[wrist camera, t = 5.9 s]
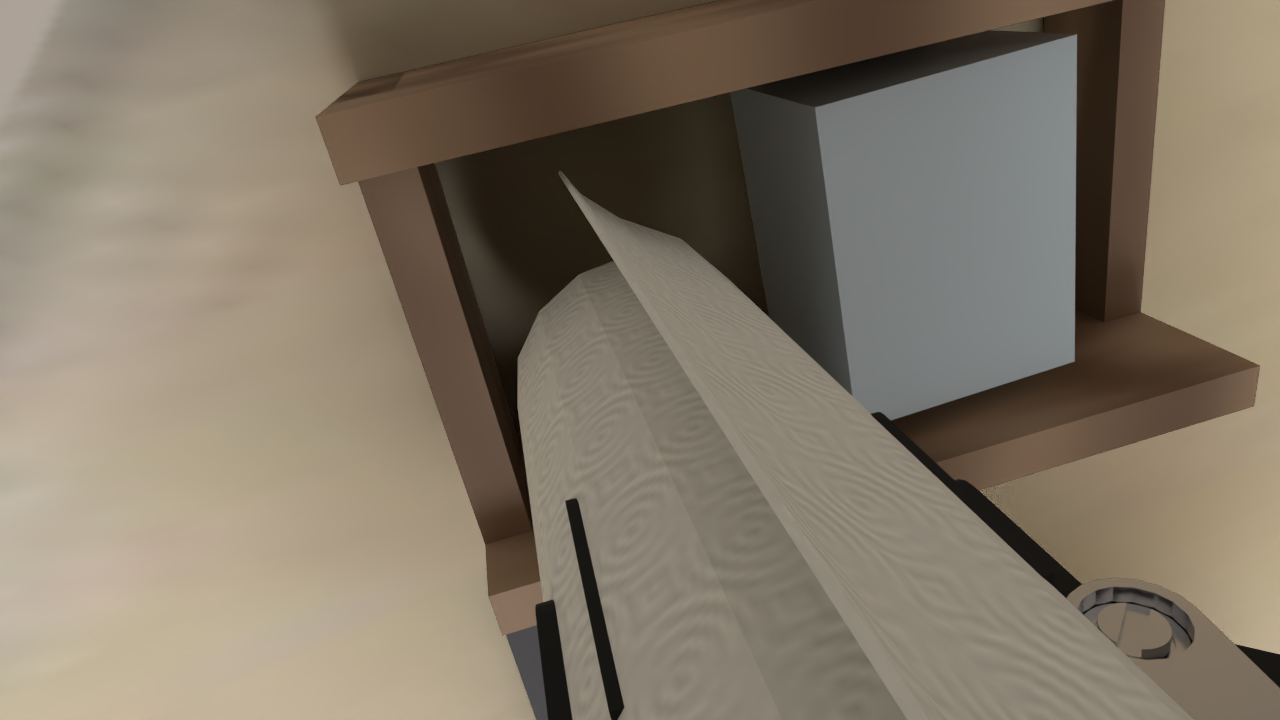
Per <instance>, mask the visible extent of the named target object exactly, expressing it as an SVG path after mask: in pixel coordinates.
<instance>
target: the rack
mask: <svg viewBox="0 0 1280 720" xmlns="http://www.w3.org/2000/svg"><path fill="white" fill-rule="evenodd" d="M1164 7H1165V0H719V1H714V2H710V3H706V4H701V5H697V6H692V7H688V8H683V9H679V10H675V11H670V12H666V13H661V14H657V15H653V16H648V17H644V18H639V19H635V20H630V21H626V22H622V23H617V24H613V25H608V26H604V27H600V28H595V29H591V30H586V31H582V32H577V33H573V34H569V35H564V36H560V37H555V38H551V39H547V40H542V41H538V42H533V43H529V44H524V45H520V46H516V47H511V48H507V49H502V50H498V51H493V52H489V53H485V54H480V55H476V56H471V57H467V58H463V59H458V60H454V61H449V62H445V63H440V64H436V65H432V66H427V67H423V68H418V69H414V70H410V71H405V72H401V73H396V74H392V75H387V76H383V77H379V78H374V79H370V80H365V81H361V82H358V83H357V84H355V85H354V86H353V87H352V88H350V89H349V90H348V91H347V92H345V93H344V94H343V95H342V96H341V97H339V98H338V99H337V100H336V101H334V102H333V103H332V104H331V105H329V106H328V107H327V108H326V109H325V110H323V111H322V112H321V113H320V114H318V115H317V116H316V120H317V123H318V125H319V128H320V131H321V134H322V136H323V139H324V142H325V145H326V147H327V150H328V153H329V156H330V159H331V161H332V164H333V167H334V170H335V172H336V175H337V178H338V181H339V184H340V185H344V184H349V183H353V182H357V181H358V182H359V185H360V188H361V191H362V194H363V196H364V199H365V202H366V205H367V208H368V211H369V214H370V216H371V219H372V222H373V225H374V228H375V231H376V234H377V236H378V239H379V242H380V245H381V248H382V251H383V254H384V256H385V259H386V262H387V265H388V268H389V271H390V273H391V276H392V279H393V282H394V285H395V288H396V291H397V293H398V296H399V299H400V302H401V305H402V308H403V311H404V313H405V316H406V319H407V322H408V325H409V328H410V331H411V333H412V336H413V339H414V342H415V345H416V348H417V351H418V353H419V356H420V359H421V362H422V365H423V368H424V371H425V373H426V376H427V379H428V382H429V385H430V388H431V391H432V393H433V396H434V399H435V402H436V405H437V408H438V411H439V413H440V416H441V419H442V422H443V425H444V428H445V431H446V433H447V436H448V439H449V442H450V445H451V448H452V451H453V453H454V456H455V459H456V462H457V465H458V468H459V470H460V473H461V476H462V479H463V482H464V485H465V488H466V490H467V493H468V496H469V499H470V502H471V505H472V508H473V510H474V513H475V516H476V519H477V522H478V525H479V528H480V530H481V533H482V536H483V539H484V542H485V546H486V562H487V579H488V595H489V599H490V602H491V605H492V608H493V610H494V613H495V616H496V619H497V621H498V624H499V627H500V630H501V633H502V635H506V634H509V633H513V632H516V631H519V630H523V629H526V628H529V627H532V626H536V625H537V622H536V612H535V606H536V604H539V603H543V596H542V589H541V581H540V574H539V566H538V558H537V551H536V543H535V536H534V528H533V521H532V513H531V505H530V498H529V490H528V483H527V475H526V468H525V460H524V453H523V445H522V437H521V435H520V436H518V435H517V432H516V428H515V425H514V422H513V419H512V415H511V412H510V409H509V406H508V402H507V399H506V396H505V393H504V389H503V386H502V383H501V379H500V376H499V373H498V370H497V366H496V363H495V360H494V357H493V353H492V350H491V347H490V344H489V340H488V337H487V334H486V330H485V327H484V324H483V321H482V317H481V314H480V311H479V308H478V304H477V301H476V298H475V295H474V291H473V288H472V285H471V281H470V278H469V275H468V272H467V268H466V265H465V262H464V259H463V255H462V252H461V249H460V246H459V242H458V239H457V236H456V232H455V229H454V226H453V223H452V219H451V216H450V213H449V210H448V206H447V203H446V200H445V196H444V193H443V190H442V187H441V183H440V180H439V177H438V174H437V170H436V167H435V164H434V163H436V162H440V161H445V160H449V159H453V158H457V157H461V156H466V155H470V154H474V153H478V152H482V151H486V150H491V149H495V148H499V147H503V146H507V145H511V144H516V143H520V142H524V141H528V140H532V139H537V138H541V137H545V136H549V135H553V134H557V133H562V132H566V131H570V130H574V129H578V128H582V127H587V126H591V125H595V124H599V123H603V122H607V121H612V120H616V119H620V118H624V117H628V116H633V115H637V114H641V113H645V112H649V111H653V110H658V109H662V108H666V107H670V106H674V105H678V104H683V103H687V102H691V101H695V100H699V99H704V98H708V97H712V96H716V95H720V94H724V93H729V92H733V91H737V90H741V89H745V88H749V87H754V86H758V85H762V84H766V83H770V82H775V81H779V80H783V79H787V78H791V77H795V76H800V75H804V74H808V73H812V72H816V71H820V70H825V69H829V68H833V67H837V66H841V65H846V64H850V63H854V62H858V61H862V60H866V59H871V58H875V57H879V56H883V55H887V54H891V53H896V52H900V51H904V50H908V49H912V48H917V47H921V46H925V45H929V44H933V43H937V42H942V41H946V40H950V39H954V38H958V37H962V36H967V35H971V34H975V33H979V32H983V31H988V30H992V29H996V28H1000V27H1004V26H1008V25H1013V24H1017V23H1021V22H1025V21H1029V20H1033V19H1038V18H1042V17H1044V33H1059V34H1077V104H1076V242H1075V362H1072V363H1068V364H1065V365H1062V366H1059V367H1056V368H1053V369H1050V370H1047V371H1043V372H1040V373H1037V374H1034V375H1031V376H1028V377H1025V378H1022V379H1019V380H1015V381H1012V382H1009V383H1006V384H1003V385H1000V386H997V387H994V388H991V389H987V390H984V391H981V392H978V393H975V394H972V395H969V396H966V397H963V398H959V399H956V400H953V401H950V402H947V403H944V404H941V405H938V406H934V407H931V408H928V409H925V410H922V411H919V412H916V413H913V414H910V415H906V416H903V417H900V418H897V419H894V420H891V421H892V422H893V423H894V424H895V425H896V426H897V427H898V428H899V429H900V430H901V431H902V432H903V433H905V434H906V435H907V436H908V437H909V438H910V439H911V440H912V441H913V442H914V443H915V444H916V445H917V446H918V447H920V448H921V449H922V450H923V451H924V452H925V453H926V454H927V455H928V456H929V457H930V458H931V459H932V460H933V461H935V462H936V463H937V464H938V465H939V466H940V467H941V468H942V469H943V470H944V471H945V472H946V473H947V474H948V475H950V476H951V477H952V478H953V479H954V480H958V479H961V480H966V481H967V482H969V483H970V484H972V485H973V486H974V487H975V488H976V489H978V490H981V489H984V488H988V487H991V486H994V485H998V484H1001V483H1004V482H1007V481H1011V480H1014V479H1017V478H1020V477H1024V476H1027V475H1030V474H1034V473H1037V472H1040V471H1043V470H1047V469H1050V468H1053V467H1056V466H1060V465H1063V464H1066V463H1070V462H1073V461H1076V460H1079V459H1083V458H1086V457H1089V456H1092V455H1096V454H1099V453H1102V452H1106V451H1109V450H1112V449H1115V448H1119V447H1122V446H1125V445H1129V444H1132V443H1135V442H1138V441H1142V440H1145V439H1148V438H1151V437H1155V436H1158V435H1161V434H1165V433H1168V432H1171V431H1174V430H1178V429H1181V428H1184V427H1187V426H1191V425H1194V424H1197V423H1201V422H1204V421H1207V420H1210V419H1214V418H1217V417H1220V416H1224V415H1227V414H1230V413H1233V412H1237V411H1240V410H1243V409H1246V408H1250V407H1253V406H1254V402H1255V396H1256V389H1257V383H1258V376H1259V370H1260V365H1258V364H1255V363H1253V362H1251V361H1249V360H1246V359H1244V358H1242V357H1240V356H1237V355H1235V354H1233V353H1231V352H1228V351H1226V350H1224V349H1222V348H1219V347H1217V346H1215V345H1213V344H1210V343H1208V342H1206V341H1204V340H1201V339H1199V338H1197V337H1195V336H1193V335H1190V334H1188V333H1186V332H1184V331H1181V330H1179V329H1177V328H1175V327H1172V326H1170V325H1168V324H1166V323H1163V322H1161V321H1159V320H1157V319H1154V318H1152V317H1150V316H1148V315H1145V314H1143V313H1141V299H1142V287H1143V274H1144V261H1145V248H1146V236H1147V223H1148V210H1149V198H1150V185H1151V172H1152V159H1153V147H1154V134H1155V121H1156V108H1157V96H1158V83H1159V70H1160V58H1161V45H1162V32H1163V19H1164Z"/></svg>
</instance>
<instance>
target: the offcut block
mask: <svg viewBox="0 0 1280 720" xmlns="http://www.w3.org/2000/svg"><path fill="white" fill-rule="evenodd" d="M730 95H731V100H732V106H733V112H734V118H735V124H736V129H737V135H738V141H739V147H740V152H741V158H742V164H743V170H744V176H745V181H746V187H747V193H748V199H749V204H750V210H751V216H752V222H753V228H754V233H755V239H756V245H757V251H758V256H759V262H760V268H761V274H762V280H763V285H764V291H765V297H766V303H767V308H768V314H769V318H770V319H771V320H772V321H773V322H774V323H775V324H777V325H778V326H779V327H780V328H781V329H782V330H783V331H784V332H785V333H786V334H787V335H788V336H789V337H790V338H791V339H792V340H793V341H794V342H796V343H797V344H798V345H799V346H800V347H801V348H802V349H803V350H804V351H805V352H806V353H807V354H808V355H809V356H810V357H811V358H812V359H814V360H815V361H816V362H817V363H818V364H819V365H820V366H821V367H822V368H823V369H824V370H825V371H826V372H827V373H828V374H829V375H830V376H831V377H833V378H834V379H835V380H836V381H837V382H838V383H839V384H840V385H841V386H842V387H843V388H844V389H845V390H846V391H847V392H848V393H849V394H851V395H852V396H853V397H854V398H855V399H856V400H857V401H858V402H859V403H860V404H861V405H862V406H863V407H864V408H865V409H866V410H867V411H868V412H870V413H871V414H872V413H875V412H881V413H883V414H884V415H885V416H886V417H887V418H888V419H890V420H894V419H897V418H900V417H903V416H906V415H910V414H913V413H916V412H919V411H922V410H925V409H928V408H931V407H934V406H938V405H941V404H944V403H947V402H950V401H953V400H956V399H959V398H963V397H966V396H969V395H972V394H975V393H978V392H981V391H984V390H987V389H991V388H994V387H997V386H1000V385H1003V384H1006V383H1009V382H1012V381H1015V380H1019V379H1022V378H1025V377H1028V376H1031V375H1034V374H1037V373H1040V372H1043V371H1047V370H1050V369H1053V368H1056V367H1059V366H1062V365H1065V364H1068V363H1072V362H1075V242H1076V104H1077V34H1059V33H1036V32H1013V31H991V30H988V31H983V32H979V33H975V34H971V35H967V36H962V37H958V38H954V39H950V40H946V41H942V42H937V43H933V44H929V45H925V46H921V47H917V48H912V49H908V50H904V51H900V52H896V53H891V54H887V55H883V56H879V57H875V58H871V59H866V60H862V61H858V62H854V63H850V64H846V65H841V66H837V67H833V68H829V69H825V70H820V71H816V72H812V73H808V74H804V75H800V76H795V77H791V78H787V79H783V80H779V81H775V82H770V83H766V84H762V85H758V86H754V87H749V88H745V89H741V90H737V91H733V92H730Z"/></svg>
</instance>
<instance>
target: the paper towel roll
mask: <svg viewBox="0 0 1280 720" xmlns="http://www.w3.org/2000/svg"><path fill="white" fill-rule="evenodd" d="M558 174H559V176H560V177H561V179H562V180H563V182H564V184H565V185H566V187H567V188H568V190H569V191H570V193H571V195H572V196H573V198H574V199H575V201H576V202H577V204H578V205H579V207H580V209H581V210H582V212H583V213H584V215H585V216H586V218H587V220H588V221H589V223H590V224H591V226H592V227H593V229H594V230H595V232H596V234H597V235H598V237H599V238H600V240H601V241H602V243H603V245H604V246H605V248H606V249H607V251H608V252H609V254H610V256H611V257H612V259H613V260H614V261H612V262H609V263H607V264H604V265H602V266H599V267H597V268H594V269H591V270H589V271H586V272H584V273H581V274H579V275H578V276H576V277H575V278H574V279H573V280H572V281H571V282H570V283H569V284H568V285H567V286H566V287H565V288H564V289H563V290H561V291H560V292H559V293H558V294H557V295H556V296H555V297H554V298H553V299H552V300H551V301H550V302H549V303H548V304H546V305H545V306H544V307H543V308H542V309H541V310H540V311H539V313H538V315H537V317H536V319H535V322H534V324H533V326H532V328H531V330H530V333H529V335H528V337H527V339H526V341H525V344H524V346H523V348H522V350H521V352H520V355H519V357H518V399H517V407H518V415H519V422H520V430H521V437H522V445H523V453H524V460H525V468H526V475H527V483H528V490H529V498H530V505H531V513H532V521H533V528H534V536H535V543H536V551H537V558H538V566H539V574H540V581H541V589H542V596H543V602H546V601H549V600H554V602H555V608H556V614H557V620H558V627H559V633H560V640H561V647H562V653H563V660H564V667H565V673H566V680H567V687H568V693H569V700H570V707H571V713H572V720H611V717H610V714H609V709H608V704H607V700H606V695H605V690H604V685H603V680H602V676H601V671H600V666H599V661H598V656H597V652H596V647H595V642H594V637H593V632H592V628H591V623H590V618H589V613H588V608H587V604H586V599H585V594H584V589H583V584H582V580H581V575H580V570H579V565H578V561H577V556H576V551H575V546H574V541H573V537H572V532H571V527H570V522H569V517H568V513H567V508H566V503H565V501H566V500H570V499H573V498H577V500H578V502H579V507H580V511H581V516H582V520H583V525H584V529H585V533H586V538H587V542H588V547H589V551H590V556H591V560H592V565H593V569H594V574H595V578H596V583H597V587H598V592H599V596H600V600H601V605H602V609H603V614H604V618H605V623H606V627H607V632H608V636H609V641H610V645H611V650H612V654H613V659H614V663H615V668H616V672H617V676H618V681H619V685H620V690H621V694H622V699H623V703H624V709H623V711H622V713H621V714H620V716H619V718H618V720H1194V719H1193V718H1192V717H1191V716H1190V715H1189V714H1188V713H1187V712H1186V711H1185V710H1183V709H1182V708H1181V707H1180V706H1179V705H1178V704H1177V703H1176V702H1175V701H1174V700H1173V699H1172V698H1171V697H1170V696H1169V695H1168V694H1167V693H1165V692H1164V691H1163V690H1162V689H1161V688H1160V687H1159V686H1158V685H1157V684H1156V683H1155V682H1154V681H1153V680H1152V679H1151V678H1150V677H1149V676H1148V675H1146V674H1145V673H1144V672H1143V671H1142V670H1141V669H1140V668H1139V667H1138V666H1137V665H1136V664H1135V663H1134V662H1133V661H1132V660H1131V659H1130V658H1129V657H1127V656H1126V655H1125V654H1124V653H1123V652H1122V651H1121V650H1120V649H1119V648H1118V647H1117V646H1116V645H1115V644H1114V643H1113V642H1112V641H1111V640H1109V639H1108V638H1107V637H1106V636H1105V635H1104V634H1103V633H1102V632H1101V631H1100V630H1099V629H1098V628H1097V627H1096V626H1095V625H1094V624H1093V623H1092V622H1090V621H1089V620H1088V619H1087V618H1086V617H1085V616H1084V615H1083V614H1082V613H1081V612H1080V611H1079V610H1078V609H1077V608H1076V607H1075V606H1074V605H1072V604H1071V603H1070V602H1069V601H1068V600H1067V599H1066V598H1065V597H1064V596H1063V595H1062V594H1061V593H1060V592H1059V591H1058V590H1057V589H1056V588H1055V587H1053V586H1052V585H1051V584H1050V583H1049V582H1048V581H1046V580H1045V579H1044V578H1043V577H1042V576H1040V575H1039V574H1038V573H1037V572H1036V571H1035V570H1034V569H1033V568H1032V567H1031V566H1030V565H1029V564H1028V563H1027V562H1026V561H1025V560H1024V559H1023V558H1021V557H1020V556H1019V555H1018V554H1017V553H1016V552H1015V551H1014V550H1013V549H1012V548H1011V547H1010V546H1009V545H1008V544H1007V543H1006V542H1005V541H1004V540H1002V539H1001V538H1000V537H999V536H998V535H997V534H996V533H995V532H994V531H993V530H992V529H991V528H990V527H989V526H988V525H987V524H986V523H985V522H983V521H982V520H981V519H980V518H979V517H978V516H977V515H976V514H975V513H974V512H973V511H972V510H971V509H970V508H969V507H968V506H967V505H966V504H964V503H963V502H962V501H961V500H960V499H959V498H958V497H957V496H956V495H955V494H954V493H953V492H952V491H951V490H950V489H949V488H948V487H946V486H945V485H944V484H943V483H942V482H941V481H940V480H939V479H938V478H937V477H936V476H935V475H934V474H933V473H932V472H931V471H930V470H929V469H927V468H926V467H925V466H924V465H923V464H922V463H921V462H920V461H919V460H918V459H917V458H916V457H915V456H914V455H913V454H912V453H911V452H910V451H908V450H907V449H906V448H905V447H904V446H903V445H902V444H901V443H900V442H899V441H898V440H897V439H896V438H895V437H894V436H893V435H892V434H891V433H889V432H888V431H887V430H886V429H885V428H884V427H883V426H882V425H881V424H880V423H879V422H878V421H877V420H876V419H875V418H874V417H873V416H872V415H871V413H870V412H868V411H867V410H866V409H865V408H864V407H863V406H862V405H861V404H860V403H859V402H858V401H857V400H856V399H855V398H854V397H853V396H852V395H851V394H849V393H848V392H847V391H846V390H845V389H844V388H843V387H842V386H841V385H840V384H839V383H838V382H837V381H836V380H835V379H834V378H833V377H831V376H830V375H829V374H828V373H827V372H826V371H825V370H824V369H823V368H822V367H821V366H820V365H819V364H818V363H817V362H816V361H815V360H814V359H812V358H811V357H810V356H809V355H808V354H807V353H806V352H805V351H804V350H803V349H802V348H801V347H800V346H799V345H798V344H797V343H796V342H794V341H793V340H792V339H791V338H790V337H789V336H788V335H787V334H786V333H785V332H784V331H783V330H782V329H781V328H780V327H779V326H778V325H777V324H775V323H774V322H773V321H772V320H771V319H770V318H769V317H768V316H767V315H766V314H765V313H764V312H763V311H762V310H761V309H760V308H759V307H757V306H756V305H755V304H754V303H753V302H752V301H751V300H750V299H749V298H748V297H747V296H746V295H745V294H744V293H743V292H742V291H741V290H740V289H738V288H737V287H736V286H735V285H734V284H733V283H732V282H731V281H730V280H729V279H728V278H727V277H726V276H725V275H723V274H722V273H721V272H720V271H719V270H717V269H716V268H715V267H714V266H713V265H712V264H710V263H709V262H708V261H707V260H706V259H704V258H703V257H702V256H701V255H700V254H699V253H697V252H696V251H695V250H694V249H693V248H692V247H690V246H689V245H688V244H687V243H686V242H684V241H683V240H682V239H680V238H677V237H674V236H671V235H669V234H666V233H663V232H660V231H657V230H654V229H651V228H648V227H645V226H642V225H639V224H636V223H633V222H630V221H627V220H624V219H621V218H619V217H617V216H615V215H614V214H612V213H611V212H609V211H607V210H606V209H604V208H603V207H601V206H600V205H598V204H596V203H595V202H593V201H592V200H590V199H588V198H587V197H585V196H584V195H582V194H581V193H580V192H579V191H578V190H577V189H576V188H575V187H574V185H573V184H572V183H571V182H570V181H569V180H568V179H567V177H566V176H565V175H564V174H563V173H562V172H561V171H559V172H558Z"/></svg>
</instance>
